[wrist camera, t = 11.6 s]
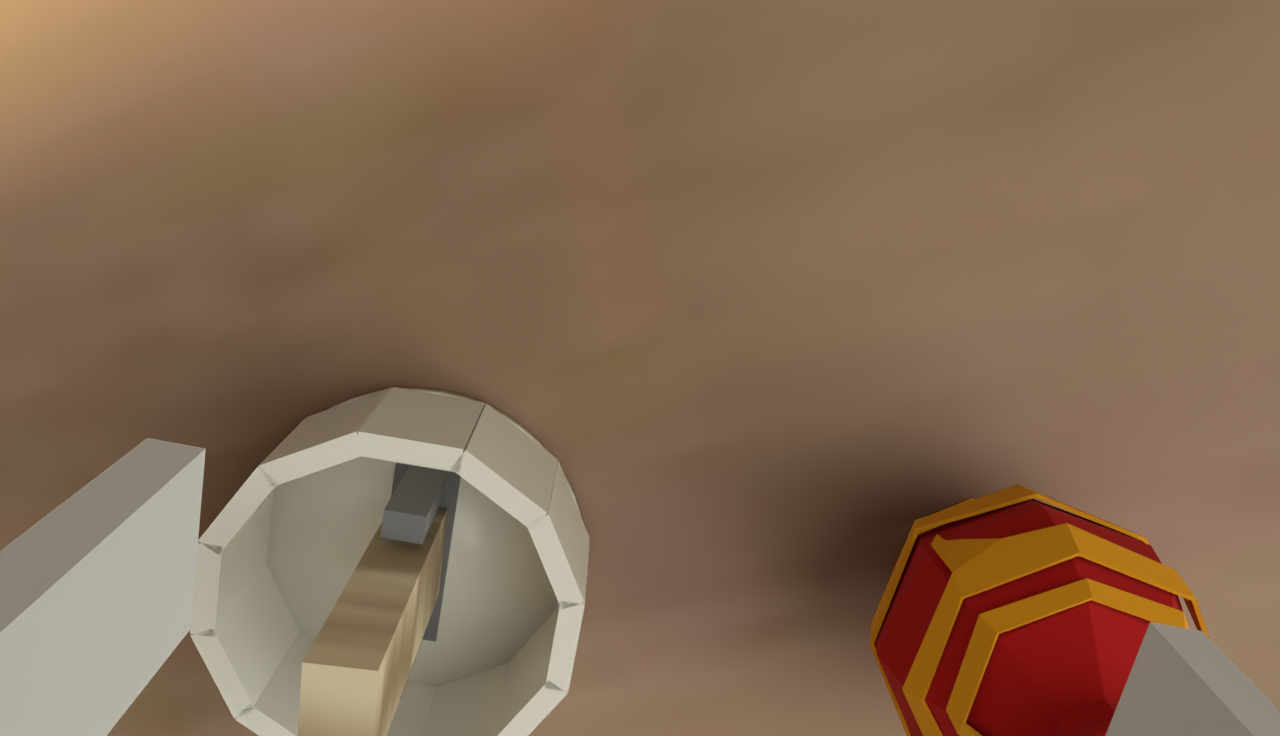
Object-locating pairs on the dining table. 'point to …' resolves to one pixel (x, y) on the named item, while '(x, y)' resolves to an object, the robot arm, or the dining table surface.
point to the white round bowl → (406, 505)
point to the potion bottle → (1019, 618)
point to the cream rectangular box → (372, 637)
